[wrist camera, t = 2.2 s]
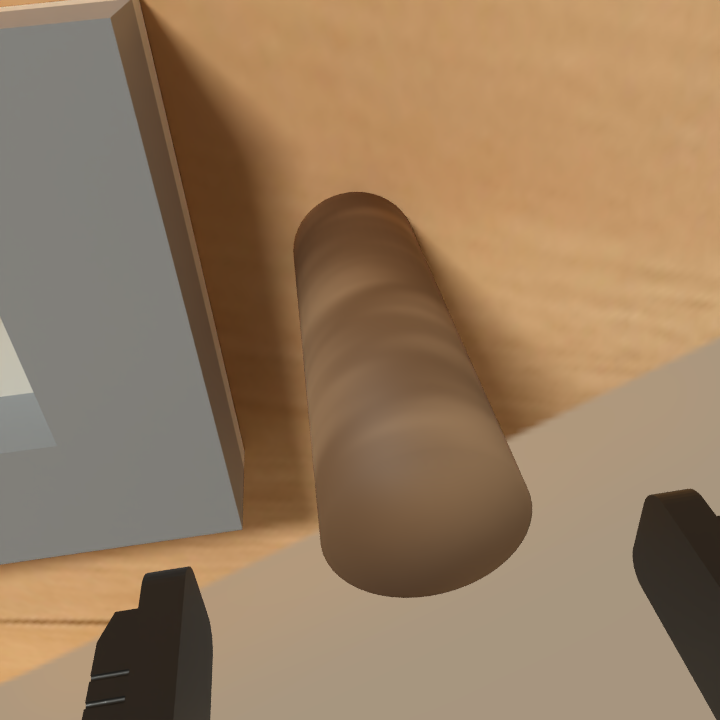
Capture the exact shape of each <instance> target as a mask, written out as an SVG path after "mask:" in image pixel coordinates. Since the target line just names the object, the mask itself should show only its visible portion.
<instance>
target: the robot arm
mask: <svg viewBox="0 0 720 720" xmlns="http://www.w3.org/2000/svg"><path fill="white" fill-rule="evenodd" d="M633 563H634V569H635V572H636V575H637V578H638V581H639V583H640V585H641V587H642V589H643V590H644V592H645V594H646V596H647V598H648V599H649V601H650V603H651V605H652V606H653V608H654V610H655V612H656V613H657V615H658V617H659V619H660V620H661V622H662V624H663V626H664V628H665V629H666V631H667V633H668V635H669V636H670V638H671V640H672V641H673V643H674V645H675V647H676V649H677V650H678V652H679V654H680V656H681V657H682V659H683V661H684V663H685V665H686V666H687V668H688V670H689V672H690V674H691V675H692V677H693V679H694V681H695V682H696V684H697V686H698V688H699V689H700V691H701V693H702V695H703V696H704V698H705V700H706V702H707V704H708V705H709V707H710V709H711V711H712V712H713V714H714V716H715V718H716V719H717V720H720V516H716V515H715V514H714V512H713V511H712V510H711V508H710V507H709V506H708V504H707V503H706V502H705V500H704V499H703V498H702V496H701V495H700V494H699V493H697V492H696V491H695V490H693V489H685V490H678V491H672V492H666V493H659V494H654V495H649V496H648V497H647V498H646V499H645V502H644V506H643V510H642V514H641V518H640V522H639V526H638V531H637V535H636V540H635V543H634V547H633ZM212 659H213V646H212V633H211V626H210V621H209V618H208V615H207V611H206V608H205V605H204V602H203V599H202V597H201V593H200V590H199V587H198V584H197V581H196V578H195V575H194V572H193V570H192V568H191V567H183V568H177V569H170V570H164V571H158V572H151V573H147V574H145V575H144V578H143V581H142V586H141V593H140V600H139V606H138V608H137V609H131V610H125V611H119V612H115V613H114V615H113V617H112V618H111V620H110V622H109V623H108V625H107V627H106V628H105V630H104V632H103V633H102V635H101V637H100V638H99V640H98V642H97V645H96V650H95V656H94V660H93V666H92V671H91V682H89V686H88V692H87V697H86V702H85V703H86V709H85V710H84V712H83V717H82V720H210V710H211V685H212Z"/></svg>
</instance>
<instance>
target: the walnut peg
mask: <svg viewBox="0 0 720 720" xmlns="http://www.w3.org/2000/svg"><path fill="white" fill-rule="evenodd" d="M293 252H294V264H295V275H296V285H297V296H298V307H299V317H300V328H301V339H302V349H303V360H304V371H305V381H306V392H307V403H308V413H309V424H310V435H311V445H312V456H313V467H314V477H315V488H316V498H317V509H318V520H319V530H320V541H321V548H322V551H323V555H324V557H325V559H326V561H327V563H328V564H329V566H330V567H331V568H332V570H333V571H334V572H335V573H336V574H337V575H338V576H339V577H341V578H342V579H343V580H345V581H346V582H347V583H349V584H351V585H353V586H355V587H357V588H359V589H361V590H364V591H367V592H370V593H373V594H377V595H382V596H389V597H401V598H409V597H424V596H431V595H437V594H441V593H445V592H449V591H452V590H456V589H458V588H461V587H464V586H466V585H469V584H471V583H473V582H475V581H477V580H479V579H481V578H483V577H484V576H486V575H488V574H489V573H491V572H492V571H494V570H495V569H497V568H498V567H499V566H500V565H502V564H503V563H504V562H505V561H506V560H507V559H508V558H509V557H510V556H511V555H512V554H513V553H514V552H515V551H516V550H517V548H518V547H519V545H520V544H521V543H522V541H523V539H524V537H525V536H526V534H527V531H528V528H529V526H530V522H531V517H532V502H531V497H530V493H529V491H528V489H527V486H526V484H525V482H524V479H523V477H522V475H521V473H520V470H519V468H518V466H517V464H516V462H515V459H514V457H513V455H512V452H511V450H510V448H509V446H508V443H507V441H506V439H505V437H504V434H503V432H502V430H501V428H500V426H499V423H498V421H497V419H496V417H495V414H494V412H493V410H492V408H491V405H490V403H489V401H488V399H487V396H486V394H485V392H484V390H483V387H482V385H481V383H480V381H479V378H478V376H477V374H476V372H475V369H474V367H473V365H472V363H471V360H470V358H469V356H468V354H467V351H466V349H465V347H464V345H463V342H462V340H461V338H460V336H459V333H458V331H457V329H456V327H455V325H454V322H453V320H452V318H451V316H450V313H449V311H448V309H447V307H446V304H445V302H444V300H443V298H442V295H441V293H440V291H439V289H438V286H437V284H436V282H435V280H434V277H433V275H432V273H431V271H430V268H429V266H428V264H427V262H426V259H425V257H424V255H423V253H422V250H421V248H420V246H419V244H418V241H417V239H416V237H415V235H414V232H413V230H412V228H411V226H410V224H409V221H408V220H407V218H406V216H405V215H404V214H403V213H402V211H401V210H400V209H399V208H398V207H397V206H396V205H394V204H393V203H391V202H390V201H389V200H387V199H385V198H383V197H380V196H377V195H375V194H370V193H364V192H349V193H344V194H339V195H336V196H333V197H331V198H329V199H326V200H325V201H323V202H321V203H320V204H318V205H317V206H316V207H315V208H313V209H312V210H311V211H310V212H309V213H308V214H307V215H306V217H305V218H304V220H303V221H302V222H301V224H300V226H299V228H298V231H297V233H296V236H295V241H294V249H293Z"/></svg>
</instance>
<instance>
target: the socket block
mask: <svg viewBox="0 0 720 720" xmlns="http://www.w3.org/2000/svg"><path fill="white" fill-rule="evenodd" d="M244 452H245V451H244V447H243V443H242V438H241V434H240V430H239V426H238V421H237V417H236V413H235V408H234V404H233V400H232V396H231V391H230V387H229V383H228V378H227V374H226V370H225V366H224V361H223V357H222V353H221V348H220V344H219V340H218V336H217V331H216V327H215V323H214V318H213V314H212V310H211V306H210V301H209V297H208V293H207V288H206V284H205V280H204V276H203V271H202V267H201V263H200V258H199V254H198V250H197V246H196V241H195V237H194V233H193V228H192V224H191V220H190V216H189V211H188V207H187V203H186V198H185V194H184V190H183V186H182V181H181V177H180V173H179V168H178V164H177V160H176V156H175V151H174V147H173V143H172V138H171V134H170V130H169V126H168V121H167V117H166V113H165V108H164V104H163V100H162V96H161V91H160V87H159V83H158V78H157V74H156V70H155V66H154V61H153V57H152V53H151V48H150V44H149V40H148V36H147V31H146V27H145V23H144V18H143V14H142V10H141V6H140V1H139V0H67V1H57V2H47V3H38V4H28V5H18V6H8V7H0V565H1V564H8V563H14V562H21V561H28V560H35V559H42V558H49V557H56V556H63V555H70V554H77V553H84V552H91V551H97V550H104V549H111V548H118V547H125V546H132V545H139V544H146V543H153V542H160V541H167V540H174V539H180V538H187V537H194V536H201V535H208V534H215V533H222V532H229V531H236V530H243V491H244Z"/></svg>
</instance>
